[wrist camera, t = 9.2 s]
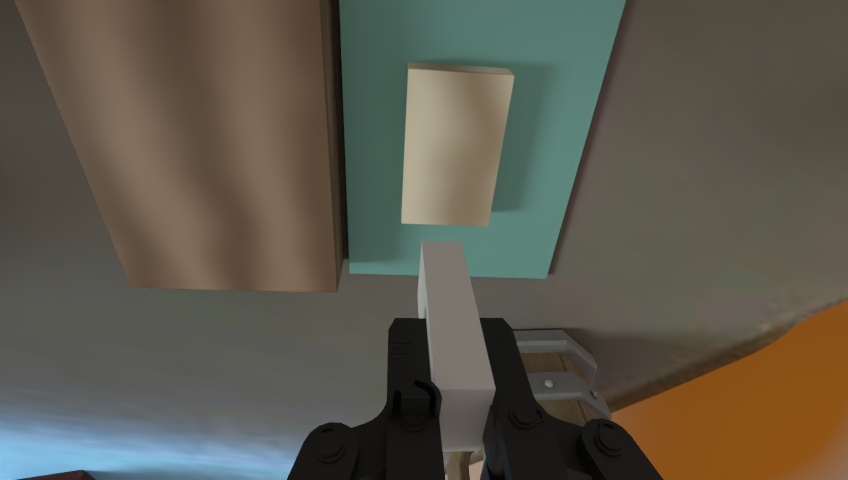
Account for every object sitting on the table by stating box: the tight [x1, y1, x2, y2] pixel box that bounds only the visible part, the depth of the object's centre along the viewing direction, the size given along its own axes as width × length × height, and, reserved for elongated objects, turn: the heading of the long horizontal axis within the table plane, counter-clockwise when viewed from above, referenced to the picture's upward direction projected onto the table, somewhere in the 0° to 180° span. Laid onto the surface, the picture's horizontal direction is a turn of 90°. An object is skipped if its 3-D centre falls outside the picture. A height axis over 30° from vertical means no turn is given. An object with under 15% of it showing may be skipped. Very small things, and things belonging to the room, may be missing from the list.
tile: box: [401, 62, 515, 227], centre depth 27 cm, size 6×10×2 cm, turn 176°
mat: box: [339, 0, 626, 279], centre depth 28 cm, size 16×22×1 cm
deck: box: [14, 0, 344, 292], centre depth 26 cm, size 14×20×4 cm
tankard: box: [447, 330, 612, 480], centre depth 37 cm, size 20×13×15 cm, turn 135°
